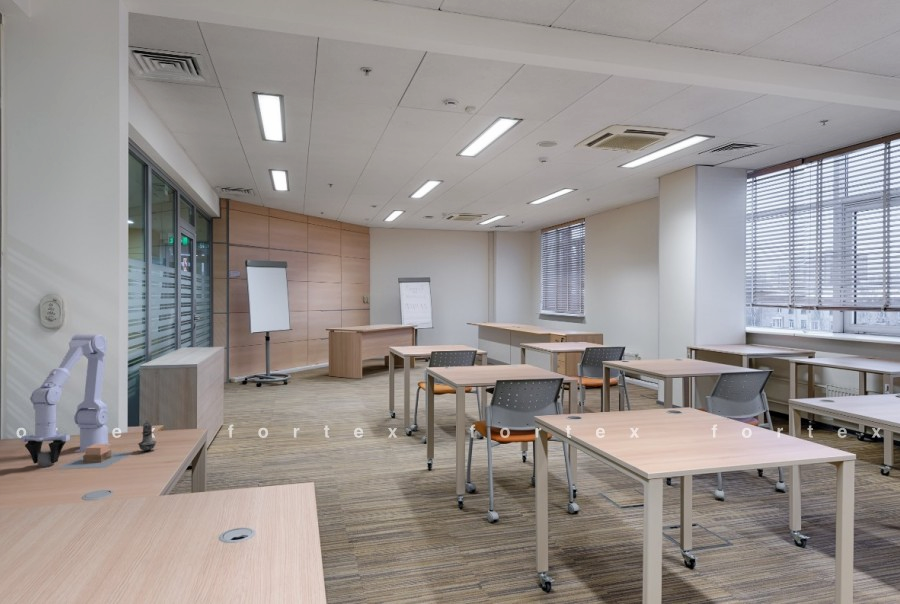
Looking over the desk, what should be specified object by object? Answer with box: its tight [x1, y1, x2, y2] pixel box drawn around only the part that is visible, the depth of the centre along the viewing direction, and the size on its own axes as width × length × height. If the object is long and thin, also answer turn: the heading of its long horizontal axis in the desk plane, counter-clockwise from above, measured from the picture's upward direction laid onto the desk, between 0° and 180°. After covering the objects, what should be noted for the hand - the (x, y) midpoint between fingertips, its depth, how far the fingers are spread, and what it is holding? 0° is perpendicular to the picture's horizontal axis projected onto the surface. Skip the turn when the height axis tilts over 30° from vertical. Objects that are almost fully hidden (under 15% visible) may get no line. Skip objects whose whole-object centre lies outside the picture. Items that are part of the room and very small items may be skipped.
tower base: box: [82, 449, 112, 463], centre depth 183 cm, size 6×6×2 cm
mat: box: [55, 451, 135, 470], centre depth 183 cm, size 18×16×1 cm
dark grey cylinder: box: [37, 449, 55, 469], centre depth 177 cm, size 4×4×5 cm
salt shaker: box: [137, 419, 157, 454], centre depth 194 cm, size 6×6×12 cm
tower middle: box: [85, 443, 110, 455], centre depth 183 cm, size 5×5×2 cm
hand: (45, 462), depth 177 cm, fingers open, 5 cm apart
